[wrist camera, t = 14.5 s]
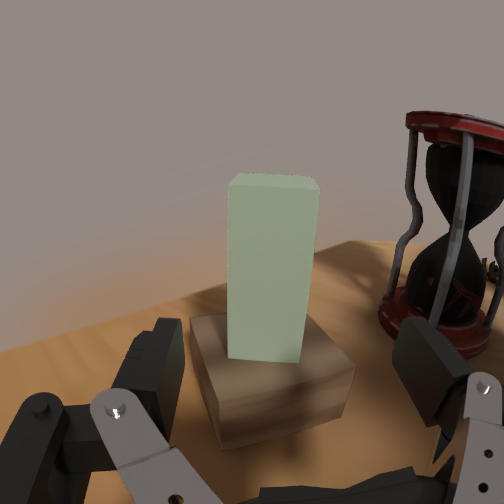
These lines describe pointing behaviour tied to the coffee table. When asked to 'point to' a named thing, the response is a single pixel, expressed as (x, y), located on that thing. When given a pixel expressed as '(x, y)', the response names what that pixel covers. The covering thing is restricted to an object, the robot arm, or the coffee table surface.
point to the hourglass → (451, 230)
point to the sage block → (269, 264)
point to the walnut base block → (268, 385)
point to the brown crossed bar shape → (491, 271)
